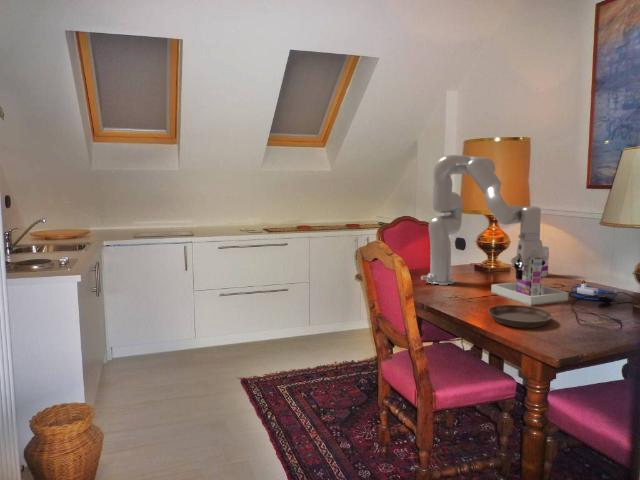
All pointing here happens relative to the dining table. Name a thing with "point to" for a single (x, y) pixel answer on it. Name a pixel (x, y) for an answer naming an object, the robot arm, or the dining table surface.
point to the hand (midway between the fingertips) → (528, 278)
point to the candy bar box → (531, 277)
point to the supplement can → (545, 267)
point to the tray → (545, 297)
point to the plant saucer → (520, 316)
